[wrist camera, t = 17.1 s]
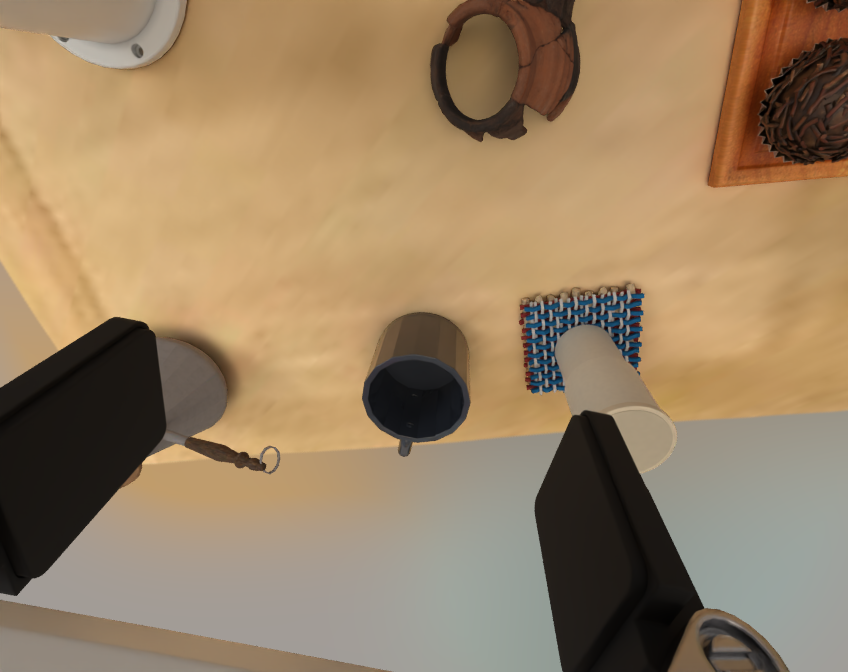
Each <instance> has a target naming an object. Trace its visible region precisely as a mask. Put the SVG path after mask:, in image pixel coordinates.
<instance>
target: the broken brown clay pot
mask: <svg viewBox="0 0 848 672" xmlns="http://www.w3.org/2000/svg"><path fill="white" fill-rule="evenodd" d="M574 2H575V0H523V1H521V0H517V1H512V0H467V1H466V2H464V3H462V4H460V5H459V6H458V7H457V8H456V9H455V10H454V11H453V12H452V13H451V14H450V15H449V16H448V18H447V22H448V23H449V26H448V28H447V29H446V32H445V35H444V38H443V41H442V43H439V44H437V45H435V46H434V47H433V50H432V54H431V64H430V66H431V84H432V89H433V92H434V95H435V98H436V100H437V101H438V105H439V107H440V109H441V111H442V113H443V114H444V115H445V116H446V118H447V119H448V120H449V121H450V122H451V123H452V124H453V125H454V126H456V127H457V128H459V129H461V130H463V131H464V132H466V133H467V134H468V135H470V136H471V137H472V138H474V139H476V140H478V141H480V142H482V141H483V135H484V133H485V132H488V133H489V134H490V135H491V136H493V137H496V138H499V139H503V138H508V139H510V140H515V139H517V138H519V137H521V136H523V135H525V134H526V133H527V129H526V128H525V127H524V126H523V122H524V120H523V111H524V105H528V106H529V107H530V108H532V109H534V110H535V111H537V112H539V113H540V114H541V115H546V114H548V113H549V114H548V116H547V120H548V121H553V120H554V119H555V118H557V117H558V116H559V115H560V114H561V112H562V111H563V110H564V108H565V106H566V105H567V104H568V102H569V101H570V99H571V97H572V95H573V93H574V91H575V88H576V86H577V83H578V78H579V74H580V53H579V47H578V42H577V35H576V31H575V24H574V23H573V22H572V21H571V16H572V9H573V5H574ZM479 14H491V15H493V16H496V17H500V18H501V19H502V20H503V21H504V22H505V23H506V24H507V26H508V27H509V29H510V30H511V32H512V34H513V36H514V39H515V41H516V45H517V49H518V56H519V70H518V77H517V81H516V85H515V87H514V90H513V92H512V95H511V98H510V100H509V101H508V102H507V103H506V105H505V106H504V107H503V108H502V109H501V110H500V111H499V112H498V113H497V114H495V115H493V116H491V117H489V118H486V119H482V120H475V119H472V118H469V117H467V116H465V115H464V114H463V113H461V112H460V111H459V110H458V108H457V107H456V106H455V104H454V102H453V100H452V98H451V96H450V93H449V90H448V86H447V80H446V60H447V54H448V50H449V47H450V46H452V45H453V44H454V43H455V42H457V40H458V38H459V36H460V33H461V30H462V26H463V24H464V23H465V22H466V21H467V20H468V19H470V18H472V17H473V16H476V15H479ZM562 28H563V32H562V33H561V29H562ZM558 102H559V103H558Z"/></svg>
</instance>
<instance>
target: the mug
mask: <svg viewBox="0 0 848 672" xmlns="http://www.w3.org/2000/svg"><path fill="white" fill-rule="evenodd" d="M362 400H363V403H364V406H365V409H366V412H367V415H368V417H369V418H370V419H371V420H372V421H373V422H374V423H375V425H376V426H377V427H378V428H379V429H380V430H382V431H384V432H386V433H387V434H389V435H391V436H393V437H395V438H396V439H400V441H399V447H398V453H399V454H400V455H401V456H403V457H405V456H408V455H409V454H410V451H411V447H412V443H413V442H416V443H419V442H428V441H436V440H439V439H441V438H443V437H445V436H447V435H449V434H451V433H453V432H454V431H455V430H456V429H457V428H458V427H459V426H460V425H461V424H462V423H463V422H464V421H465V419H466V417H467V413H468V410H469V406H470V365H469V353H468V346H467V342H466V340H465V337H464V335H463V334H462V332H461V331H460V330H459V329H458V327H457V326H455V325H454V324H453V323H452V322H450V321H449V320H447V319H446V318H444V317H441V316H439V315H436V314H432V313H420V312H419V313H411V314H407V315H404V316H402V317H400V318H398V319H396V320H395V321H393V322H392V323H391V324H390V325H389V326H388V327H387V328H386V329H385V330H384V332H383V334H382V336H381V338H380V339H379V341H378V344H377V347H376V350H375V353H374V356H373V359H372V362H371V365H370V368H369V370H368V373H367V376H366V379H365V382H364V388H363V395H362Z"/></svg>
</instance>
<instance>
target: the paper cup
mask: <svg viewBox="0 0 848 672" xmlns="http://www.w3.org/2000/svg"><path fill="white" fill-rule="evenodd" d="M555 357H556V360H557V363H558V366H559V368H560V371H561V374H562V377H563V380H564V382H565V396H566V399H567V402H568V405H569V408H570V411H571V414H572V416H573V415H580V414H581V412H582V411H584V410H589V411H594V412H599V413H604V414H609V415H611V416H612V417H613V418H614V420H615V422H616V424H617V426H618V428H619V430H620V433H621V435H622V437H623V439H624V441H625V443H626V445H627V447H628V450H629V452H630V454H631V456H632V458H633V460H634V462H635V464H636V467H637V469H638V471H639V473H640V474H641V473H644V472H647V471H650V470H652V469H654V468H655V467H657V466H659V465H660V464H662V463H663V462H664V461H665V460H666V459H667V458H668V457H669V456H670V454H671V453H672V451H673V450H674V448H675V445H676V441H677V431H676V427H675V425H674V423H673V422H672V420H671V419H670V417H669V416H668V415H667V414H666V413H665V412H664V411H663V410H661V409H660V407H659V406H658V404H657V403H656V401H655V399H654V398H653V396H652V395H651V393H650V392H649V390H648V388H647V387H646V385H645V384H644V382H643V381H642V379H641V377H640V376H639V374H638V373H637V371H636V370H635V368H634V367H633V366H632V365H631V364H630V363H628V362H626V361H625V359H624V358H623V356H622V355H621V353H620V351H619V350H618V348H617V346H616V345H615V343H614V342H613V340H612V338H611V337H610V335H609V334H608V333H607V332H606V331H605V330H604V329H602V328H600V327H598V326H594V325H580V326H576V327H573V328H571V329H569V330H568V331H566V332H565V333H564V334H563V335H562V336H561V337H560V338H559V340H558V342H557V344H556V347H555Z"/></svg>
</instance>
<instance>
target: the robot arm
mask: <svg viewBox="0 0 848 672" xmlns="http://www.w3.org/2000/svg"><path fill="white" fill-rule="evenodd" d="M186 4H187V0H0V28H5V29H12V30H18V31H25V32H32V33H38V34H45V35H50V36H51V37H52V38H53V39H54V40H55V41H56V42H57V43H58V44H60V45H61V46H62V47H64V48H65V49H67V50H68V51H69V52H71V53H72V54H74V55H76V56H78V57H80V58H81V59H83V60H85V61H87V62H90V63H93V64H96V65H99V66H102V67H107V68H115V69H136V68H139V67H143V66H147V65H149V64H151V63H153V62H154V61H156V60H158V59H160V58H161V57H162V56H163V55H164V54H165V53H166V52H167V51H168V50H169V49H170V48H171V46H172V45H173V43H174V41H175V40H176V38H177V36H178V35H179V32H180V29H181V27H182V24H183V21H184V18H185V11H186ZM142 49H143V52H142ZM166 427H167V423H166V415H165V407H164V399H163V391H162V383H161V375H160V367H159V359H158V351H157V343H156V336H155V334H154V332H153V331H151V330H149V327H148V326H147V324H146V323H144V322H141V321H136V320H131V319H125V318H120V317H114V318H111V319H109V320H108V321H106V322H104V323H103V324H101V325H100V326H98V327H96V328H95V329H93V330H92V331H90V332H88V333H87V334H85V335H84V336H82V337H81V338H79V339H77V340H76V341H74V342H73V343H71V344H69V345H68V346H66V347H65V348H63V349H61V350H60V351H58V352H57V353H55V354H53V355H52V356H50V357H49V358H47V359H46V360H44V361H42V362H41V363H39V364H38V365H36V366H34V367H33V368H31V369H30V370H28V371H26V372H25V373H23V374H22V375H20V376H18V377H17V378H15V379H14V380H13V381H10V382H9V383H8V384H6V385H4V386H3V387H1V388H0V593H3V594H8V595H14V596H17V595H18V594H19V593H20V591H21V590H22V589H23V588H24V587H25V586H26V585H27V584H28V583H29V581H30V580H31V579H32V578H37V577H40V576H41V575H43V574H44V573H45V572H46V571H47V570H48V569H49V568H50V567H51V566H52V565H53V563H54V562H55V561H56V560H57V559H58V558H59V557H60V556H61V554H62V553H63V552H64V551H65V550H66V549H67V548H68V546H69V545H70V544H71V543H72V542H73V541H74V540H75V538H76V537H77V536H78V535H79V534H80V533H81V532H82V530H83V529H84V528H85V527H86V526H87V525H88V524H89V522H90V521H91V520H92V519H93V518H94V517H95V516H96V515H97V513H98V512H99V511H100V510H101V509H102V508H103V507H104V505H105V504H106V503H107V502H108V501H109V500H110V499H111V497H112V496H113V495H114V494H115V493H116V492H117V490H118V489H119V488H120V487H121V486H122V485H123V484H124V483H125V481H126V480H127V479H128V478H129V477H130V476H131V475H132V474H133V472H134V471H135V470H136V469H137V468H138V467H139V466H140V464H141V463H142V462H143V461H144V460H145V459H146V458H147V456H148V455H149V454H150V453H151V452H152V451H153V450H154V448H155V447H156V446H157V445H158V444H159V443H160V442H161V440H162V439H163V437H164V435H165V432H166ZM535 517H536V523H537V529H538V534H539V541H540V546H541V552H542V558H543V563H544V569H545V574H546V581H547V587H548V592H549V598H550V604H551V610H552V615H553V621H554V627H555V633H556V639H557V644H558V650H559V656H560V662H561V666H562V671H563V672H790V671H789V670H788V668H787V667H786V665H785V664H784V662H783V660H782V659H781V657H780V655H779V654H778V653H777V652H776V651H775V649H774V648H773V647H772V646H771V645H770V644H769V642H768V641H767V640H766V639H765V638H764V637H763V636H762V635H760V634H759V633H758V632H757V631H756V630H755V629H753V628H752V627H751V626H750V625H748V624H747V623H745V622H744V621H742V620H740V619H739V618H737V617H736V616H734V615H731V614H729V613H726V612H724V611H721V610H718V609H708V608H704V606H703V604H702V602H701V600H700V598H699V596H698V594H697V592H696V590H695V587H694V586H693V583H692V581H691V579H690V577H689V575H688V573H687V570H686V568H685V566H684V564H683V562H682V560H681V558H680V556H679V554H678V552H677V549H676V547H675V545H674V543H673V541H672V539H671V537H670V535H669V533H668V530H667V528H666V526H665V524H664V522H663V520H662V518H661V516H660V513H659V511H658V509H657V507H656V505H655V503H654V501H653V499H652V497H651V494H650V493H649V490H648V489H647V487H646V486H645V484H644V482H643V479H642V477H641V475H640V473H639V471H638V469H637V467H636V464H635V462H634V460H633V458H632V456H631V454H630V452H629V450H628V447H627V445H626V443H625V441H624V439H623V437H622V435H621V433H620V430H619V428H618V426H617V424H616V422H615V420H614V418H613V417H612V416H611V415H609V414H604V413H599V412H594V411H589V410H584V411H582V412H581V414H580V415H573V416H572V418H571V420H570V422H569V424H568V426H567V429H566V431H565V433H564V436H563V438H562V440H561V443H560V445H559V447H558V449H557V451H556V454H555V456H554V458H553V460H552V463H551V465H550V467H549V470H548V472H547V474H546V477H545V479H544V481H543V483H542V486H541V488H540V490H539V493H538V494H537V497H536V500H535ZM0 672H391V671H386V670H380V669H375V668H370V667H365V666H360V665H354V664H349V663H344V662H338V661H332V660H327V659H322V658H317V657H311V656H306V655H300V654H295V653H290V652H284V651H279V650H273V649H268V648H263V647H258V646H252V645H247V644H241V643H235V642H230V641H225V640H219V639H214V638H208V637H203V636H198V635H192V634H187V633H181V632H176V631H171V630H165V629H159V628H154V627H148V626H143V625H137V624H132V623H126V622H121V621H115V620H109V619H104V618H98V617H93V616H87V615H81V614H76V613H70V612H64V611H59V610H53V609H48V608H42V607H37V606H31V605H26V604H20V603H15V602H8V601H3V600H0Z"/></svg>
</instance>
